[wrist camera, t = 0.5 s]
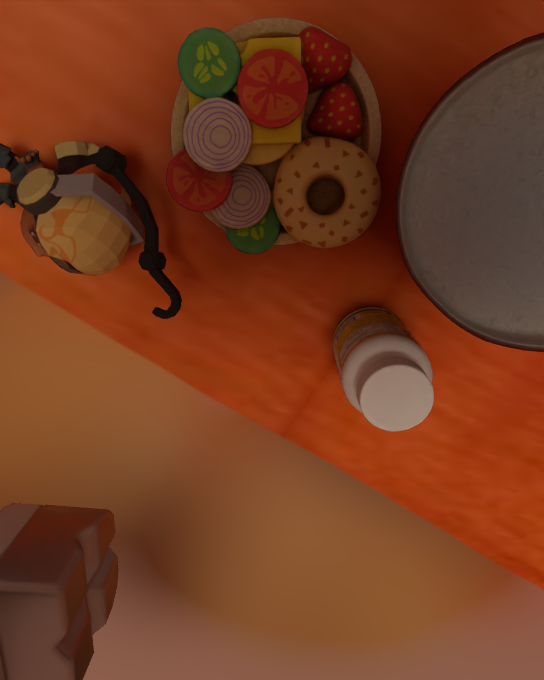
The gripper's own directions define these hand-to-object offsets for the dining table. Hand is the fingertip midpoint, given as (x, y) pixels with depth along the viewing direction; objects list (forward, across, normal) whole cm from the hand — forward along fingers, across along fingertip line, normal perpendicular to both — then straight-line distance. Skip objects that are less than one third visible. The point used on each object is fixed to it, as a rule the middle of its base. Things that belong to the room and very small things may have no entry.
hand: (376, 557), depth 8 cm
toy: (+27, +19, -7) cm, 33 cm away
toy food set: (+28, +3, -7) cm, 29 cm away
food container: (+15, -9, -5) cm, 18 cm away
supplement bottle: (+28, -5, +6) cm, 29 cm away
